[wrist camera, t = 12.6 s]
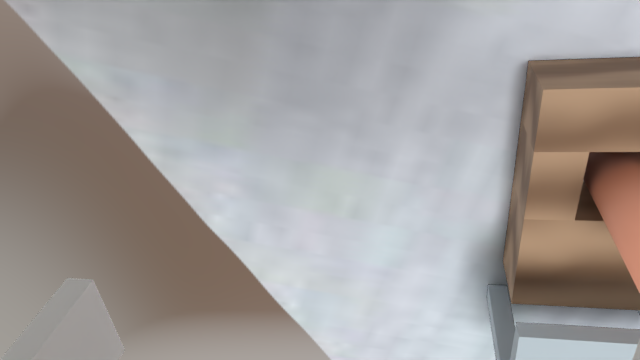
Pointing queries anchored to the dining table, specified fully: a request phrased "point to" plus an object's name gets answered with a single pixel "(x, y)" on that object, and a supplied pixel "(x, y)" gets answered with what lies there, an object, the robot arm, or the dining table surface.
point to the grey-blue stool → (553, 336)
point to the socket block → (569, 184)
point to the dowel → (618, 201)
